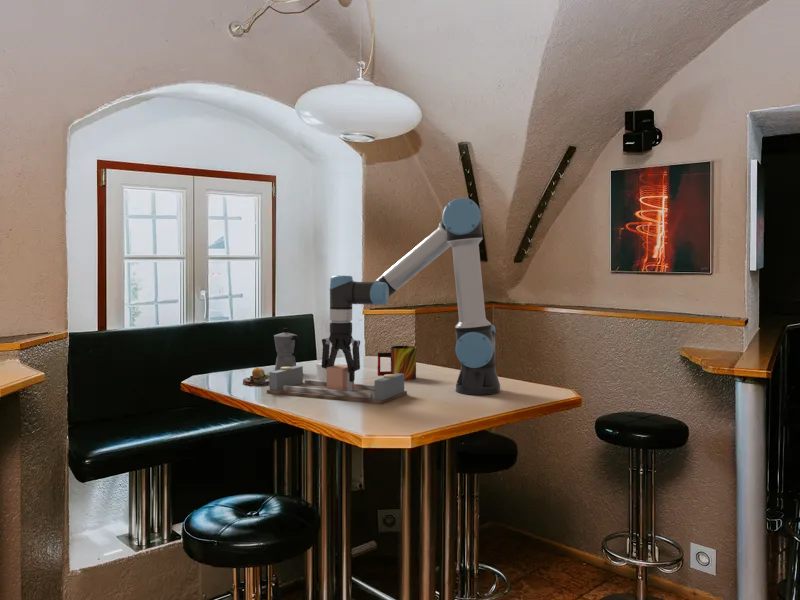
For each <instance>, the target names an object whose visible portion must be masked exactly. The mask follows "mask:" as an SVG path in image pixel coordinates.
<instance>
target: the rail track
mask: <svg viewBox="0 0 800 600" xmlns="http://www.w3.org/2000/svg"><path fill="white" fill-rule="evenodd" d="M266 394H271V395H273V394H274V395H281V396H282V395H284V396H293V397H304V398H312V399H313V398H314V399H325V400H336V401H344V402H355V403H357V402H358V403H366V402H367V403H368V404H376V403H377V404H378V405H385V404H386V403H389V402H392V401H393V400H396V399H398V398H402V397H404V396H406V395H407V394H408V390H404V392H402V393H400V394H397V395H395V396H392V397H390V398H387V399H385V400H375V384H363V383H362V384H361V383H354V389H352V391H341V390H330V389H327V381H318V379H317V380H316V379H315V380H314V379H305V380H304V381H303V383H301V384H298V385H294V386H284V389H280V390H270V388H268V389H266ZM356 401H357V402H356ZM367 403H366V404H367ZM384 403H385V404H384Z"/></svg>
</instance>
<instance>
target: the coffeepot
mask: <svg viewBox="0 0 800 600" xmlns="http://www.w3.org/2000/svg"><path fill="white" fill-rule="evenodd" d="M273 339H274V344H275V345H274V346H275V351H276V355H277V356H276V357H275V358H276V359H275V365H274V371H277V370H281V367H293V366H297V363H296V357H295V356H296V355H297V352H298V347H299V342H300V338H299V337H298V335H297V334H294V333H290V332H288V327H283V332H281V333H277V334H273Z"/></svg>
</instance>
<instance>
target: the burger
mask: <svg viewBox="0 0 800 600" xmlns="http://www.w3.org/2000/svg"><path fill="white" fill-rule="evenodd" d="M242 384H243V385H246V386H247V385H248V386H249V387H250V386H252V387H264V386H270V385H269V372H268V373H267V374H266V373H265V370H264V369H263V368H262V367H255V368H254V369H253V370H252V372H251V375H250V376H249V377H246V378H243V380H242Z"/></svg>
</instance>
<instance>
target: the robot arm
mask: <svg viewBox="0 0 800 600" xmlns="http://www.w3.org/2000/svg"><path fill="white" fill-rule="evenodd" d="M441 216H442V217H441V219H442V220H440V222H439V223H438V227H437V228H436V229H435V230H434V231H433V232H432V233H430V234H429V235H428V236H427V237H425V238H424V239H422V241H421V242H419V243H418V244H417V245H416V246H415V247H414V248H412V249H411V250H410V251H409V252H407V253H406V254H405V255H404V256H403V257H401V258H400V259H399V260H398V261H397V262H396V263H394V264H393V265H392V266H391V267H390V268H388V269H387V270H386V271H385V272H384V273H382V274H381V275H380V276H378V278H376V279H375V280H373V281H354V280H353V276H352V275H332V276H331V277H330V279H329V280H330V283H329V321H330V322H329V336H328V337H326V338H322V339H321V343H322V357H321V362H322V368H325V369H326V370H327V367H331V366H334V363H335V361H336V358H337V356H338V352H339V350H341V351H342V353H343V354H344V358H345V362H346V365H347V366H348V370H349V371H348V372H347V391H352V382H353V381H354V382H355V378H356V377H355V374H356V372H357V371H359V370H360V369H361V362H360V361H361V360H360V358H361V357H360V356H361V355H360V345H361V341H360V339H359V340H357V339H354V338H353V323H352V321H353V305H370V306H371V305H374V306H381V305H386V304H388V301H389V299H390V297H391V296H392V295H393V294H395V293H396V292H397V291H398V290H399V289H400V288H401V287H403V286H404V285H405V284H406V283H407V282H409V281H411V279H413V278H414V277H415V276H417V274H420V272H421V271H422V270H424V269H425V268H426V267H427V266H429V265H430V264H431V263H432V262H433V261H434V260H435V259H437V258H438V257H440V255H442V254H443V253H445V252H446V251H447V250H448V249H449V248H450V247H451V250H452V251H451V252H452V260H453V261H452V263H453V272H454V282H455V290H456V291H455V292H456V293H455V294H456V303H457V311H458V312H457V314H458V321H457V323H456V325H455V326H454V330H455V331H454V332H455V341H456V343H455V348H454V351H455V355H456V357H457V359H458V361H459V362H460V364H461V365H460V371H459V374H458V377H457V379H456V383H455V391H456V392H458V393H460V394H465V395H474V396H475V395H476V396H480V395H481V396H483V395H484V396H487V395H494V394H495V393H496V394H498V392H499V393H500V392H501V384H500V381H499V380H500V379H499V377H498V373H497V371H496V336H497V331H496V326H495V325H493V324H492V323H491V321H489V320H488V319H487V317H486V316H487V315H486V308H485V306H486V305H485V299H484V298H485V297H484V288H483V277H482V267H481V255H480V246H479V245H480V243H481V242H482V240H483V239H484V236H483V226H482V223H483V213H482V210H481V208H480V207H479V206H478V204H477V203H476V202H475V201H474V200H473V199H470V198H469V197H458V198H454V199H452V200H451V201H449V202H448V203H447V204H446V205H445V206H444V209H443V212H442V215H441ZM330 345H331V346H330ZM351 346H352V349H351ZM330 347H331V348H330ZM351 351H352V353H351Z"/></svg>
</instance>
